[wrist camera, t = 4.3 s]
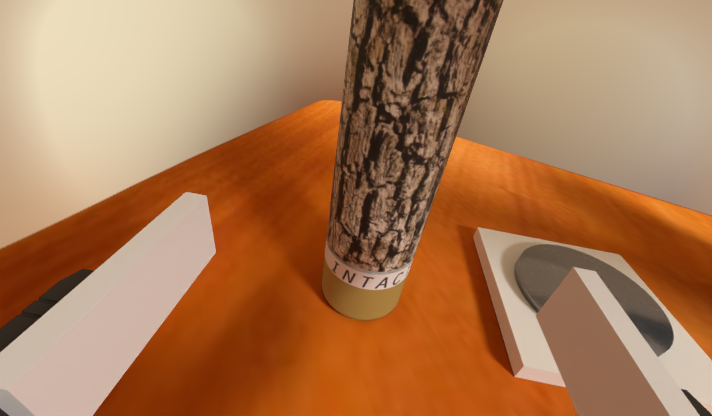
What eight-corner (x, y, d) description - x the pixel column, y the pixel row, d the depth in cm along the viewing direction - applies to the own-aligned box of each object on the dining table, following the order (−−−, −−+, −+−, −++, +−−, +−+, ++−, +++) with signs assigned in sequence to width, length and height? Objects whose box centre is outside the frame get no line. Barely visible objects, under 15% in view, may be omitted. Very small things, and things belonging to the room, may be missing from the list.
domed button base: (611, 264, 35) (625, 247, 33) (738, 422, 22) (771, 407, 20) (472, 237, 35) (481, 220, 34) (514, 376, 22) (530, 358, 21)
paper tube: (319, 262, 28) (357, -116, 14) (388, 262, 30) (487, -84, 16) (322, 327, 23) (391, -179, 9) (407, 323, 24) (585, -122, 10)
